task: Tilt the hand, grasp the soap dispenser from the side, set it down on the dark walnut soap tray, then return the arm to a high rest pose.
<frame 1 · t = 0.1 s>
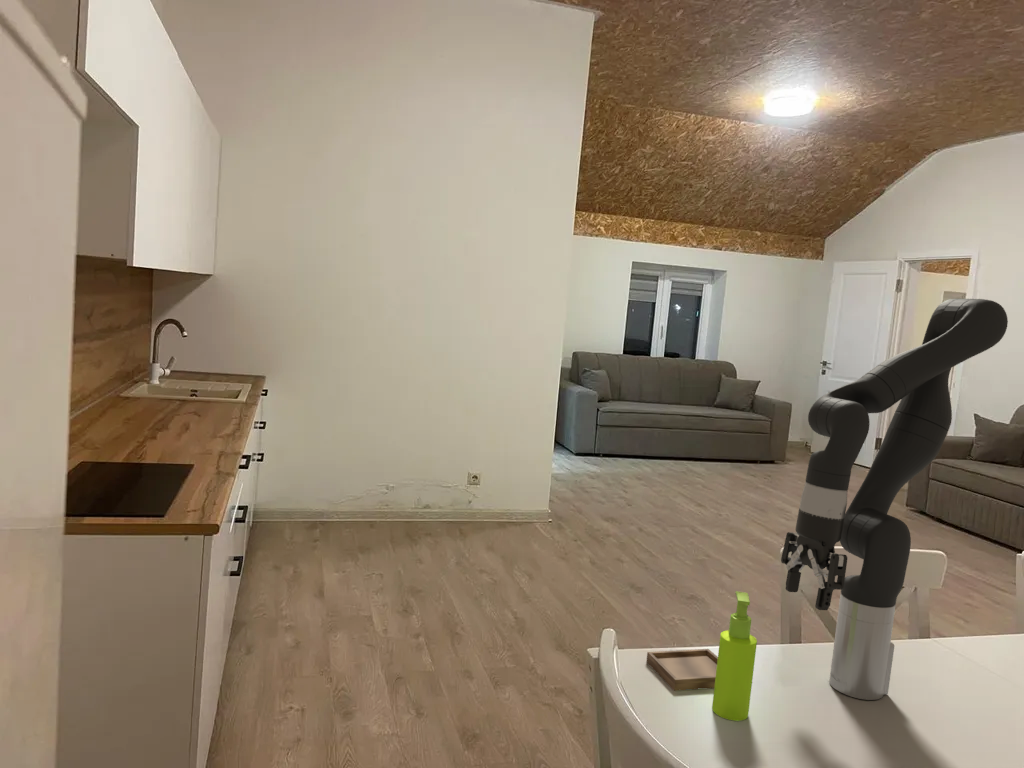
hand: (805, 600, 139), 17 cm above the table, tool pointing down, fingers open, 8 cm apart
soap dispenser: (729, 711, 133), on the table
soap tray: (691, 673, 145), on the table
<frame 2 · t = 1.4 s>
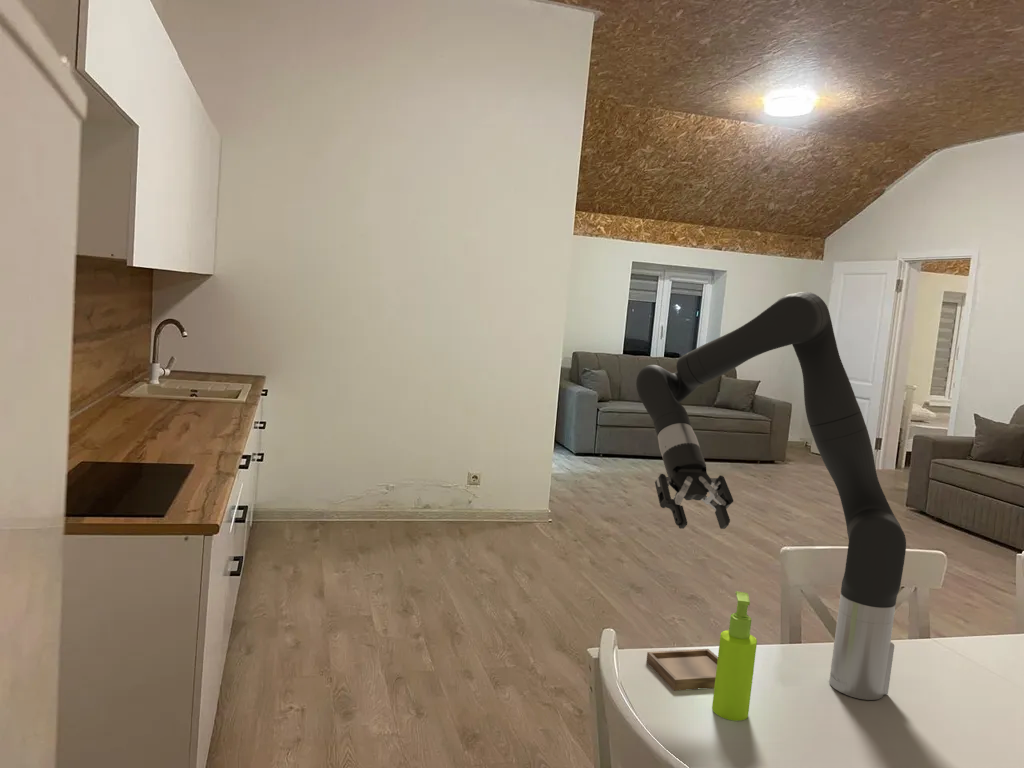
hand: (704, 526, 144), 28 cm above the table, tool tilted 45°, fingers open, 8 cm apart
nothing on the table moved.
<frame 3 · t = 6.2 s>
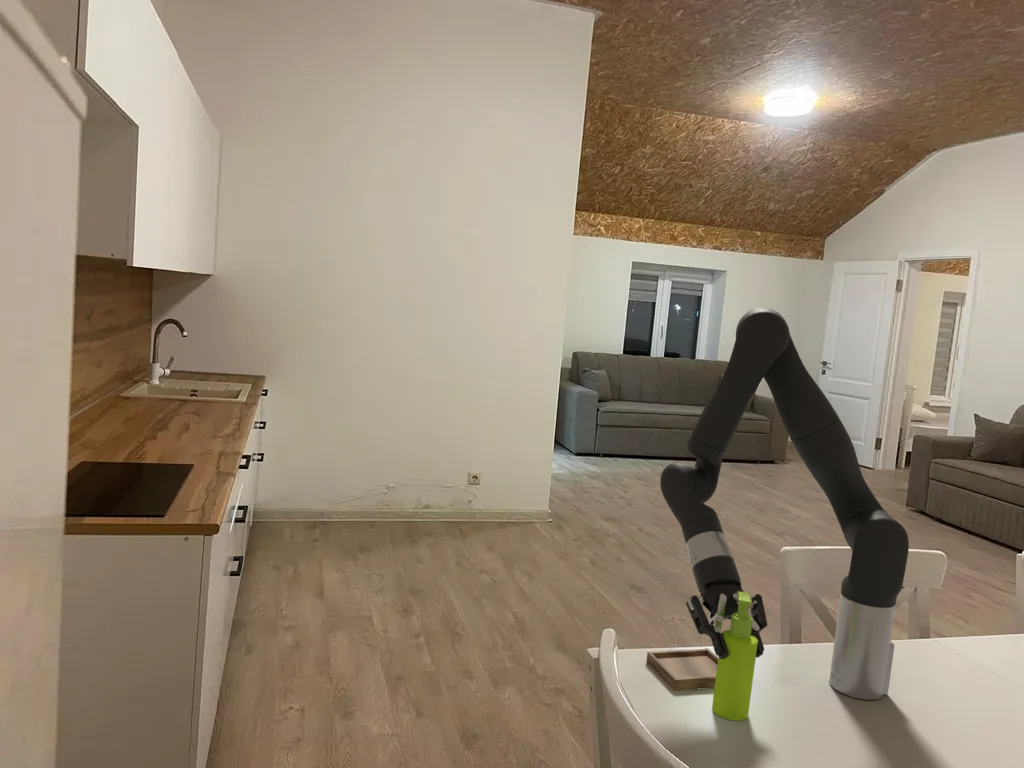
hand: (741, 656, 130), 10 cm above the table, tool tilted 45°, fingers closed on soap dispenser, 6 cm apart
soap dispenser: (729, 711, 133), on the table, touching gripper
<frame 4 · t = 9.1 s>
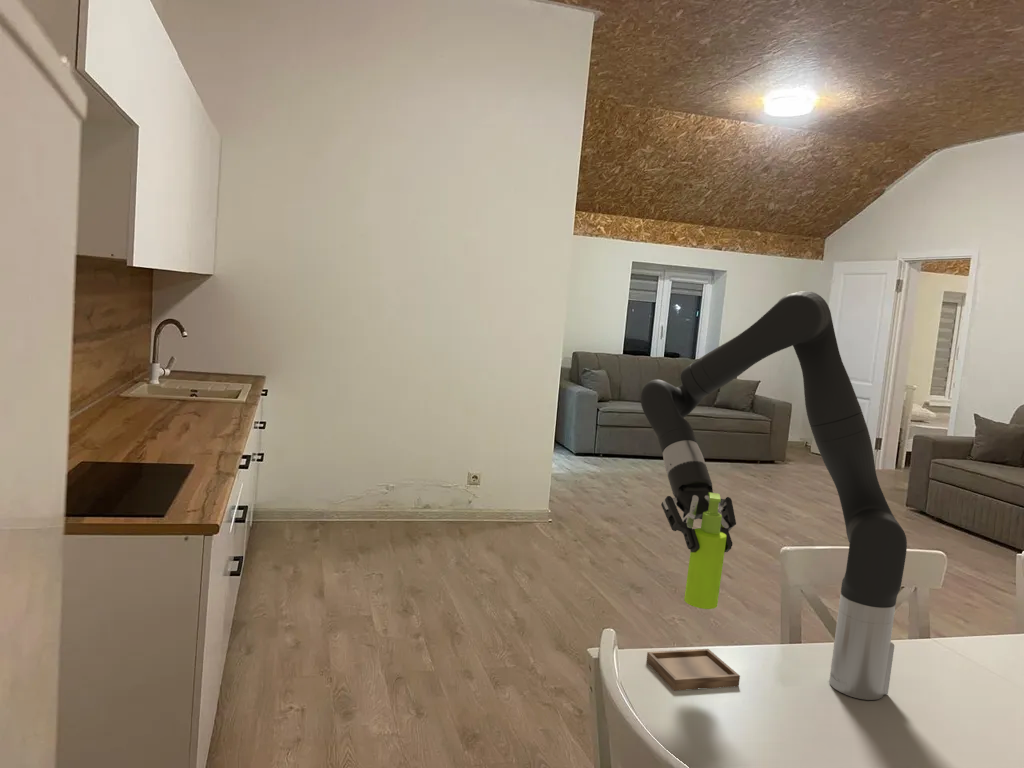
hand: (711, 550, 141), 24 cm above the table, tool tilted 45°, fingers closed on soap dispenser, 6 cm apart
soap dispenser: (700, 602, 143), point 14 cm above the table, touching gripper
when the fingers open (13 cm above the table, at t = 12.3 s): soap dispenser drops 1 cm, resting on soap tray.
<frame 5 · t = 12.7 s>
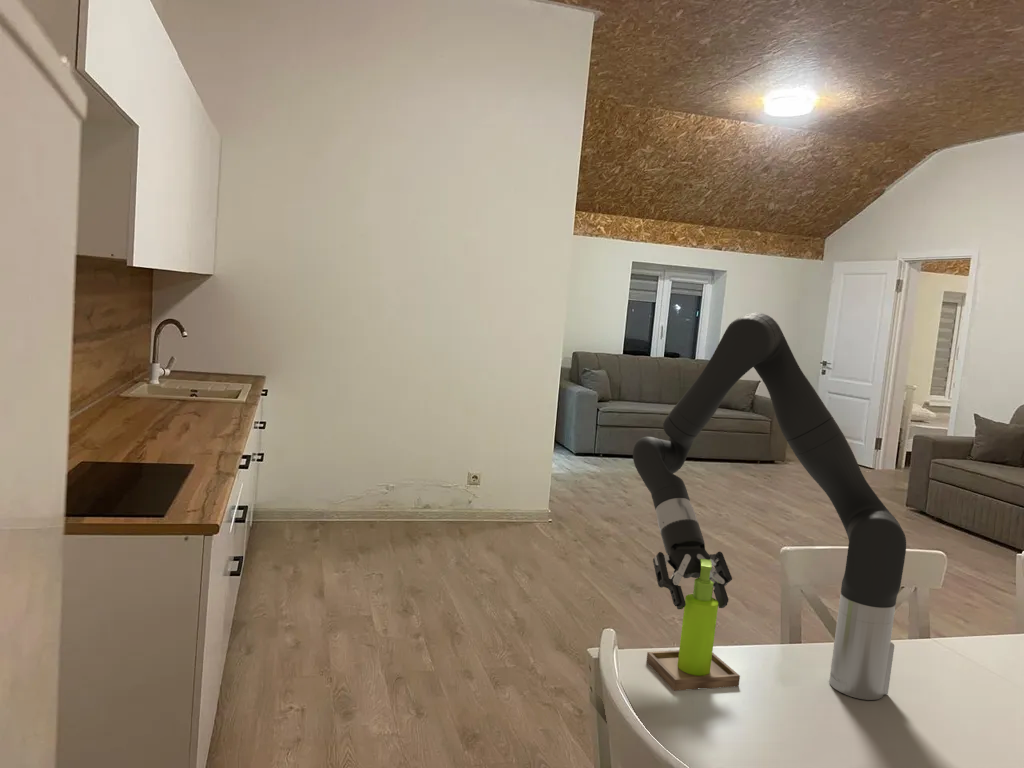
hand: (703, 607, 143), 13 cm above the table, tool tilted 45°, fingers open, 8 cm apart
soap dispenser: (693, 667, 145), point 1 cm above the table, touching soap tray
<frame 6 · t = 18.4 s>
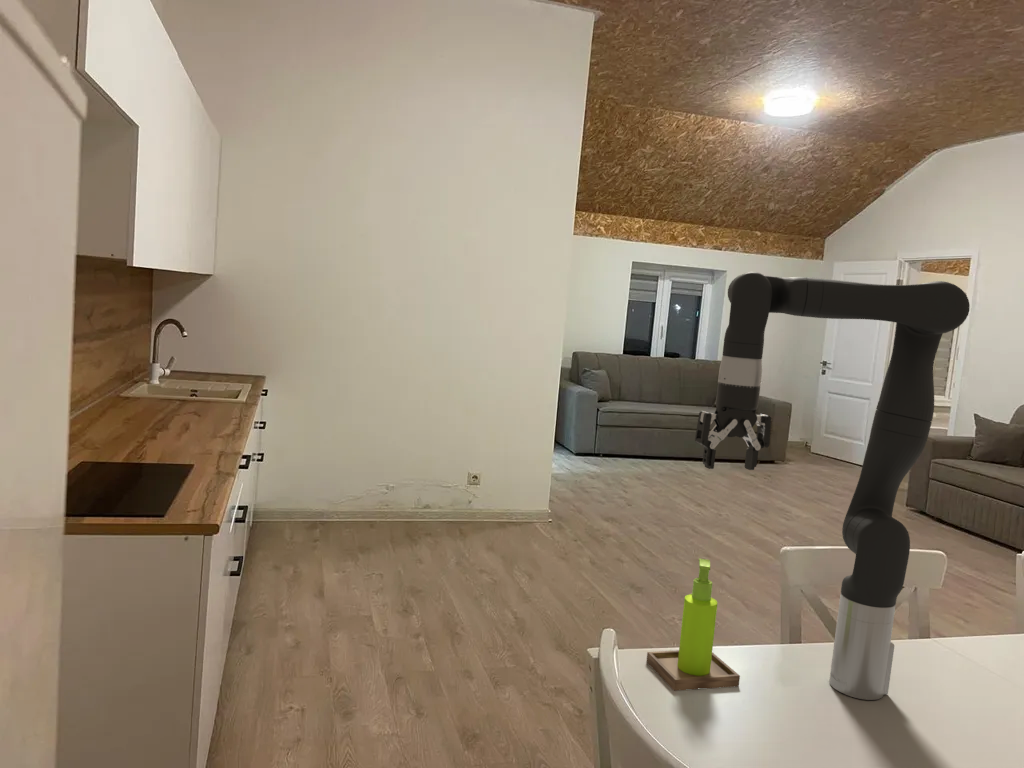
hand: (729, 468, 146), 38 cm above the table, tool pointing down, fingers open, 8 cm apart
nothing on the table moved.
at the end: soap dispenser inside the target area on the soap tray (0.4 cm from its centre), point 1.0 cm above the soap tray's base; soap dispenser tilted 0°; the gripper is holding nothing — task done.
